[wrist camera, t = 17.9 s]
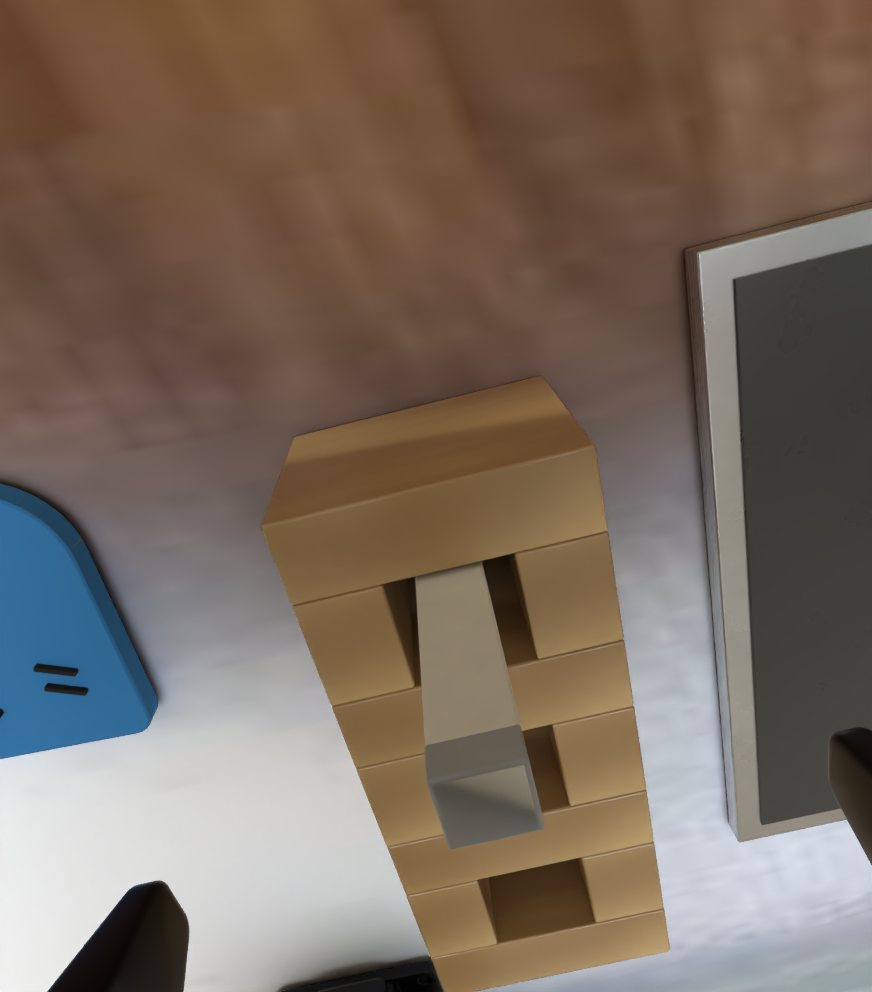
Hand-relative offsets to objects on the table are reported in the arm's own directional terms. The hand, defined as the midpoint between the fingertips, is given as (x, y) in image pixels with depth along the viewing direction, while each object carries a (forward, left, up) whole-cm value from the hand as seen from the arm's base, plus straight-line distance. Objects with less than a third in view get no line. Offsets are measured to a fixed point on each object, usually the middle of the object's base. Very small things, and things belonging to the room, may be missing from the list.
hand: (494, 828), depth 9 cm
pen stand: (-5, 0, -10) cm, 12 cm away
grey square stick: (0, 0, -10) cm, 10 cm away
